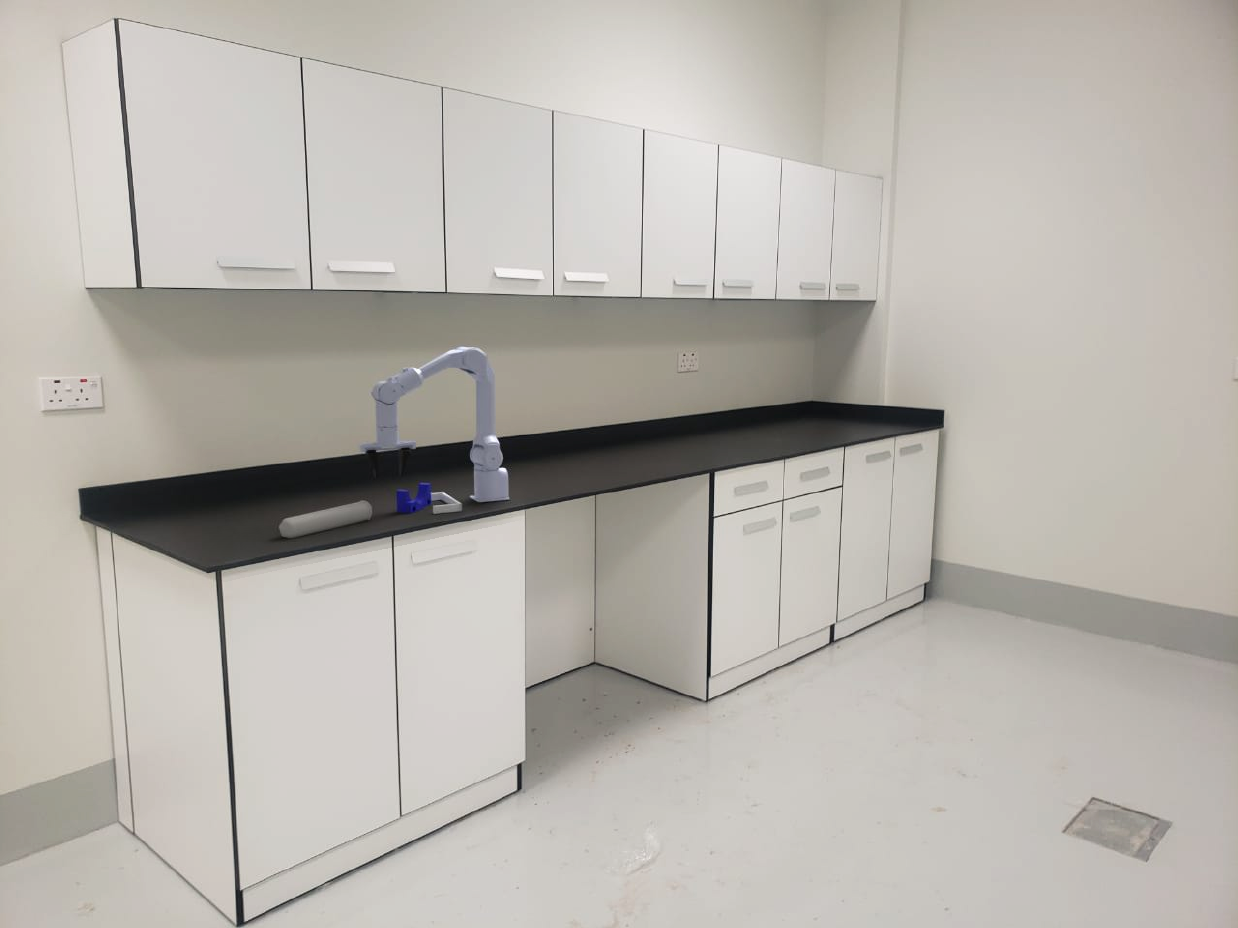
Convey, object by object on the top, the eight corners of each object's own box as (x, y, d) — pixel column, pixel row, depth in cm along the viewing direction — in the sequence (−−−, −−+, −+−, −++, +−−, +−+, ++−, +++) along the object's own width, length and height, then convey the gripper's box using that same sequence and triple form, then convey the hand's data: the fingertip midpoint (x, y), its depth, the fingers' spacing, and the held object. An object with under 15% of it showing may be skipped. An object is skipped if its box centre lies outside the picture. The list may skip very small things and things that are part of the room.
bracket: (443, 498, 254) (443, 492, 254) (462, 510, 238) (461, 503, 238) (416, 501, 250) (416, 494, 250) (433, 513, 235) (433, 506, 235)
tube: (290, 525, 206) (373, 505, 226) (276, 515, 208) (360, 496, 228) (287, 545, 207) (370, 523, 228) (273, 535, 210) (357, 514, 230)
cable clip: (411, 513, 236) (410, 491, 235) (397, 512, 237) (396, 490, 236) (436, 505, 247) (435, 484, 246) (422, 503, 248) (421, 482, 247)
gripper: (410, 423, 241) (412, 472, 244) (356, 426, 235) (358, 476, 237) (417, 426, 235) (418, 476, 237) (362, 429, 228) (364, 480, 231)
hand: (389, 476), depth 237 cm, fingers open, 6 cm apart
